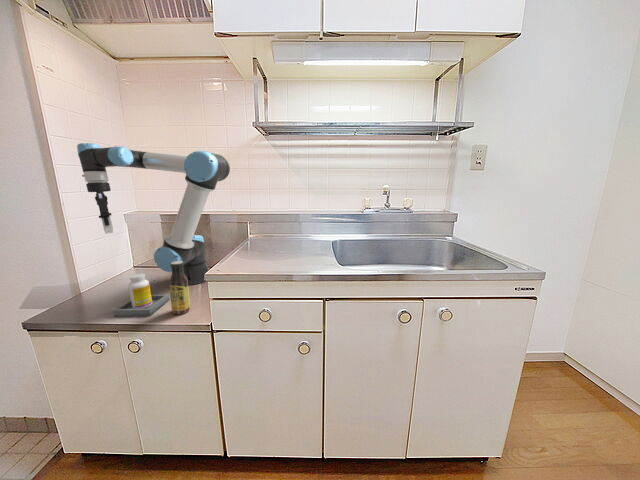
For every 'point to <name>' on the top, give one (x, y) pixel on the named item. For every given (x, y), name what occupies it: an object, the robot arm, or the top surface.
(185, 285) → the sauce bottle
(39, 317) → the top surface
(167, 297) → the tray
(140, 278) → the supplement bottle
